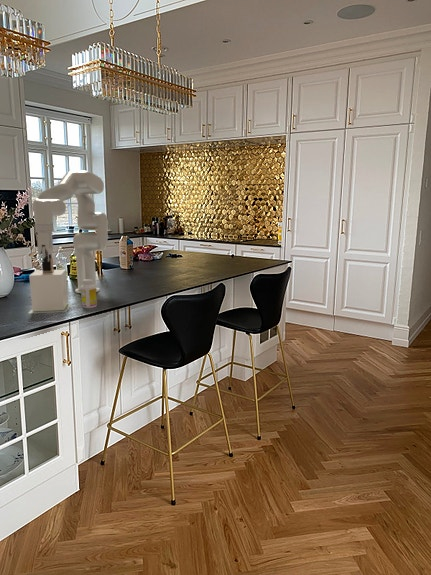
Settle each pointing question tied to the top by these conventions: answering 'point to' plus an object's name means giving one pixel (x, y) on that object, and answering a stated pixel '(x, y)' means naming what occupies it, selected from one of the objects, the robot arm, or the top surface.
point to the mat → (52, 311)
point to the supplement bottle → (88, 294)
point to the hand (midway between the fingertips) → (48, 269)
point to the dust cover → (49, 289)
